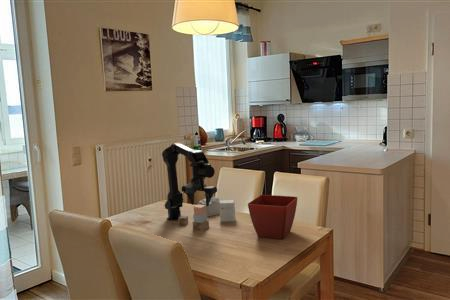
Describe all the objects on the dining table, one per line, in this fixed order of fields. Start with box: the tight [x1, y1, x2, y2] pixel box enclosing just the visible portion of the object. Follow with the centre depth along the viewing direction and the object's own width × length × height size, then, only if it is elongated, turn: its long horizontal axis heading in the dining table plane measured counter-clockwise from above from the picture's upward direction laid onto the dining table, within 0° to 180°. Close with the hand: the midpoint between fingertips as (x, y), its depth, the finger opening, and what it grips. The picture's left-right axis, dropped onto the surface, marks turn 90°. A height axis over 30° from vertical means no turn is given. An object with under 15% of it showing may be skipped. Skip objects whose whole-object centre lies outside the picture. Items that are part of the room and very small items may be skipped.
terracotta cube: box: [193, 204, 206, 215], centre depth 203 cm, size 4×4×4 cm
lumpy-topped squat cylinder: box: [198, 196, 223, 217], centre depth 231 cm, size 10×13×9 cm
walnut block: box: [177, 215, 189, 226], centre depth 213 cm, size 4×4×4 cm
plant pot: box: [247, 194, 298, 240], centre depth 190 cm, size 19×19×17 cm
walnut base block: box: [192, 219, 210, 232], centre depth 204 cm, size 6×6×4 cm
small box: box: [219, 199, 236, 223], centre depth 215 cm, size 8×6×10 cm
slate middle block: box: [192, 213, 208, 223], centre depth 204 cm, size 5×5×4 cm
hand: (200, 205), depth 203 cm, fingers open, 9 cm apart
